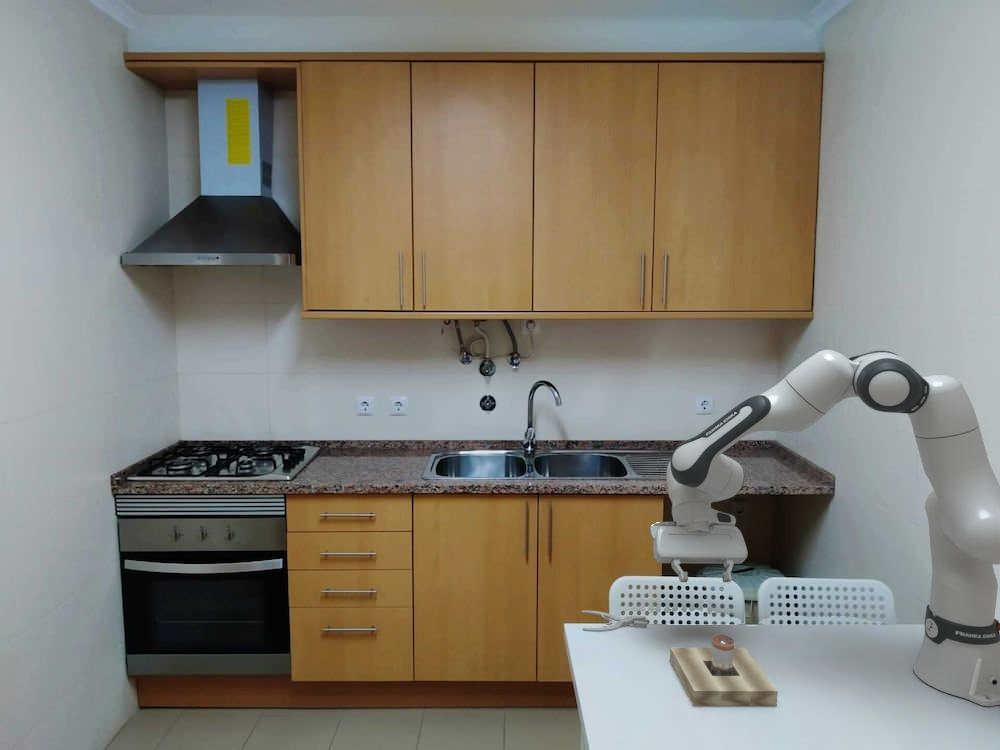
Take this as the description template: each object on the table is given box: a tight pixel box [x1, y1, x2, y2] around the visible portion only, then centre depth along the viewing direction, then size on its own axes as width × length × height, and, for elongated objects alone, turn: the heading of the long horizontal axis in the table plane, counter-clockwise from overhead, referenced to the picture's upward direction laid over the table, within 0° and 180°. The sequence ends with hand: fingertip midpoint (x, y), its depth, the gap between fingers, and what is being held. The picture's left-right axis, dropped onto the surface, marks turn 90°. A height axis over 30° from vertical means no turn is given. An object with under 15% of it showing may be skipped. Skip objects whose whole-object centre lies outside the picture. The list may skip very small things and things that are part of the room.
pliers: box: [581, 609, 648, 633], centre depth 163 cm, size 10×2×15 cm
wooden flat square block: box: [669, 647, 779, 707], centre depth 139 cm, size 16×16×3 cm
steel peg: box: [711, 634, 735, 676], centre depth 139 cm, size 4×4×9 cm
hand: (705, 581), depth 148 cm, fingers open, 8 cm apart
